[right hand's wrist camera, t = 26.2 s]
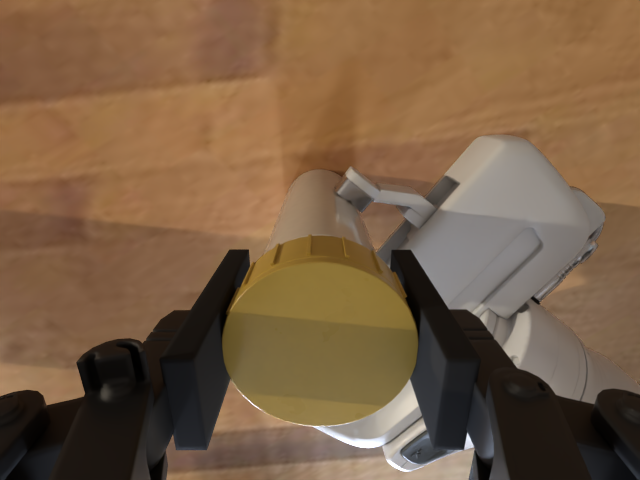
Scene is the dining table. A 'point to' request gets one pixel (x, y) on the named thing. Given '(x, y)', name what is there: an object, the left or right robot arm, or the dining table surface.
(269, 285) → the lid
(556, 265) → the left robot arm
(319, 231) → the jar
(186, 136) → the dining table surface
